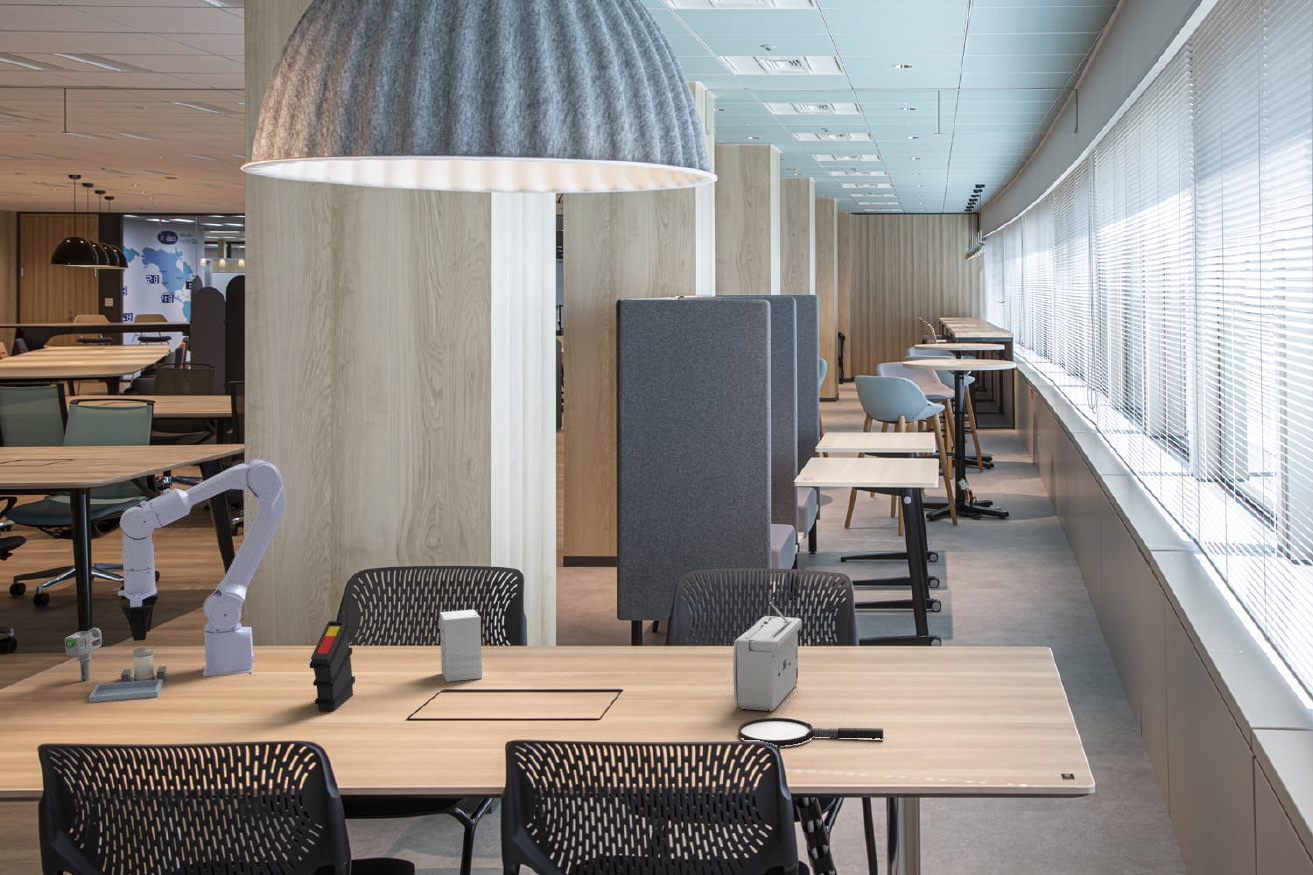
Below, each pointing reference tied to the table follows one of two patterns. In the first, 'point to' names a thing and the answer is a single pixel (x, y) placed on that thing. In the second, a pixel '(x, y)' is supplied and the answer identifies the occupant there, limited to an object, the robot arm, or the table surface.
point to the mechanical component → (83, 648)
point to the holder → (161, 674)
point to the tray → (126, 691)
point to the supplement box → (460, 645)
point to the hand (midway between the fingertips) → (142, 635)
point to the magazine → (333, 667)
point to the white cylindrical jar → (143, 664)
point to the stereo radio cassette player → (766, 662)
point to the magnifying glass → (798, 731)
